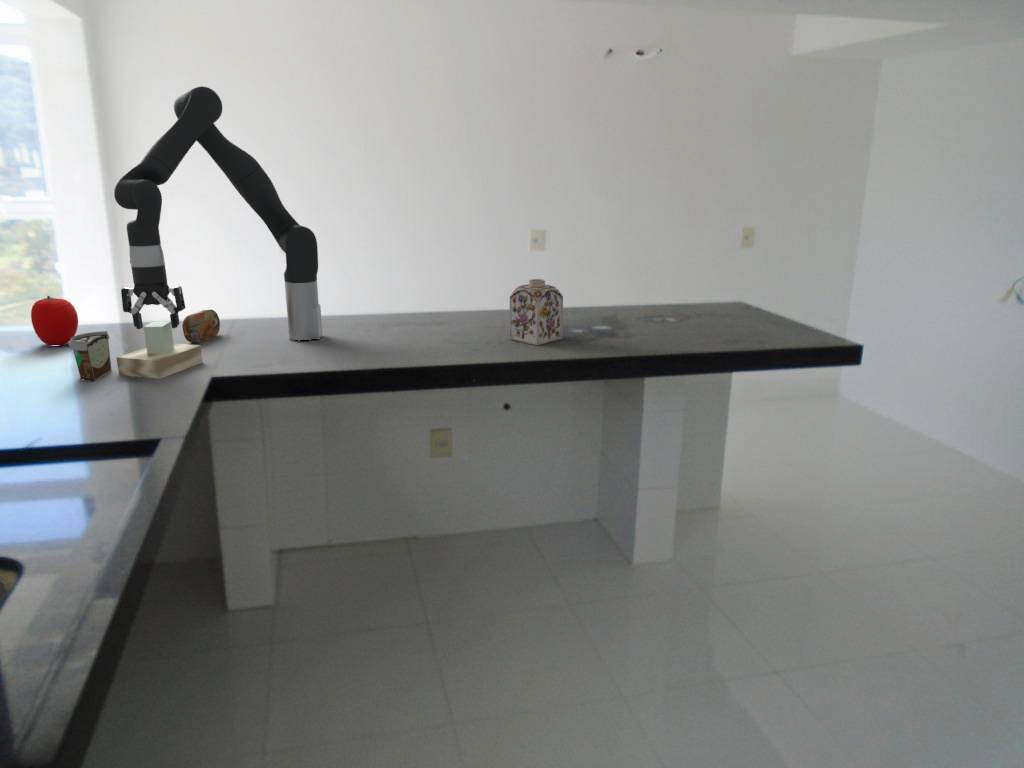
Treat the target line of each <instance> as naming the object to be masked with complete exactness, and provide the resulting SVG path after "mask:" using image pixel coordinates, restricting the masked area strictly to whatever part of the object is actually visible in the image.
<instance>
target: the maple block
mask: <svg viewBox="0 0 1024 768" xmlns="http://www.w3.org/2000/svg"><path fill="white" fill-rule="evenodd" d="M173 343H174V342H173ZM115 358H116V363H117V371H118V375H119V376H124V375H127V376H126V377H135V376H137V377H136V378H145V379H158V380H161V379H163V378H167V377H168V376H171V375H173V374H176V373H179V372H182V371H184V370H187V369H190V368H192V367H194V366H196V365H199V364H202V363H203V355H202V345H200V344H188V343H186V344H185V343H176V342H175V343H174V348H173V349H172V350H171V351H169V352H168V353H167V354H147V348H146V347H144V348H141V349H137V350H135V351H131V352H129V353H125V354H123V355H119V356H117V357H115Z"/></svg>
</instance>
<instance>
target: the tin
mask: <svg viewBox="0 0 1024 768" xmlns="http://www.w3.org/2000/svg"><path fill="white" fill-rule="evenodd" d="M220 328H221V321H220V318H219V315H218V313H217V312H216V311H215V310H214V309H202V310H201V311H197V312H194V313H191V314H189V315H187V316H186V317H184V319H183V321H182V333H183V336H184V338H185V339H186V341H187V342H189V343H193V344H195V343H196V344H200V343H202V342H205V341H207V340H211V339H213V338H215V337H216V336H217V335H218V334H219V332H220Z"/></svg>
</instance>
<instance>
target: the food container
mask: <svg viewBox="0 0 1024 768" xmlns="http://www.w3.org/2000/svg"><path fill="white" fill-rule="evenodd" d="M109 339H110V336H109V333H108V331H107V330H106V331H104V330H103V331H92V332H85V333H80V334H77V335H76V334H75V336H74V337H72V338H71V340H70V341H69V344H68V345H69V349H70V350H72V351H73V355H74V359H75V362H76V365H77V370H78V373H79V377H80V380H82V379H84V380H90V381H89V382H96V381H97V379H98V378H99V379H100V377H101V378H102V377H104V376H106V375H107V374H109V373H111V372H112V370H113V369H112V362H111V354H110V353H111V352H110V343H109ZM105 374H106V375H105ZM103 375H104V376H103ZM99 379H98V380H99ZM84 380H83V381H84ZM95 380H96V381H95Z"/></svg>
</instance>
